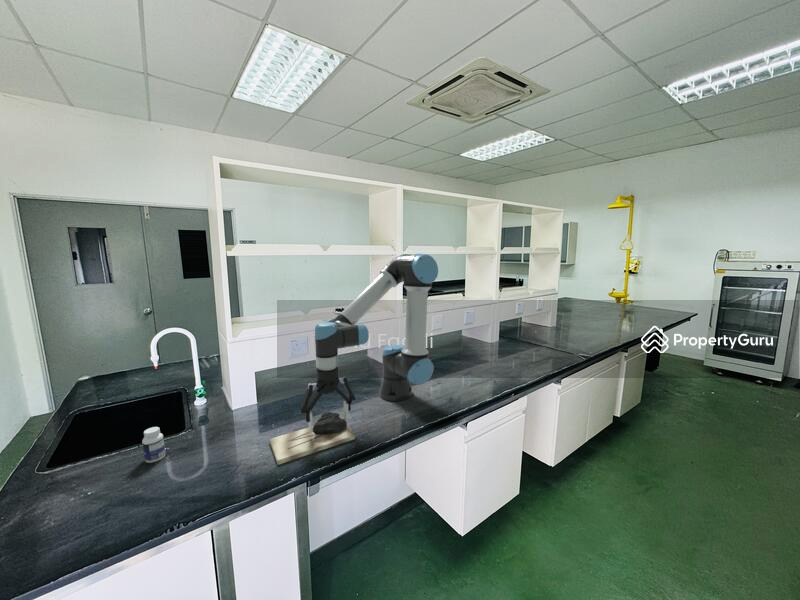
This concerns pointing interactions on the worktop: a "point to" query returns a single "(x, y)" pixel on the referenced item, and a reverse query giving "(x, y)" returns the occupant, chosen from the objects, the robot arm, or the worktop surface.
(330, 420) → the rock
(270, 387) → the worktop surface
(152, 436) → the pill bottle
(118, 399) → the worktop surface
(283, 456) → the board
